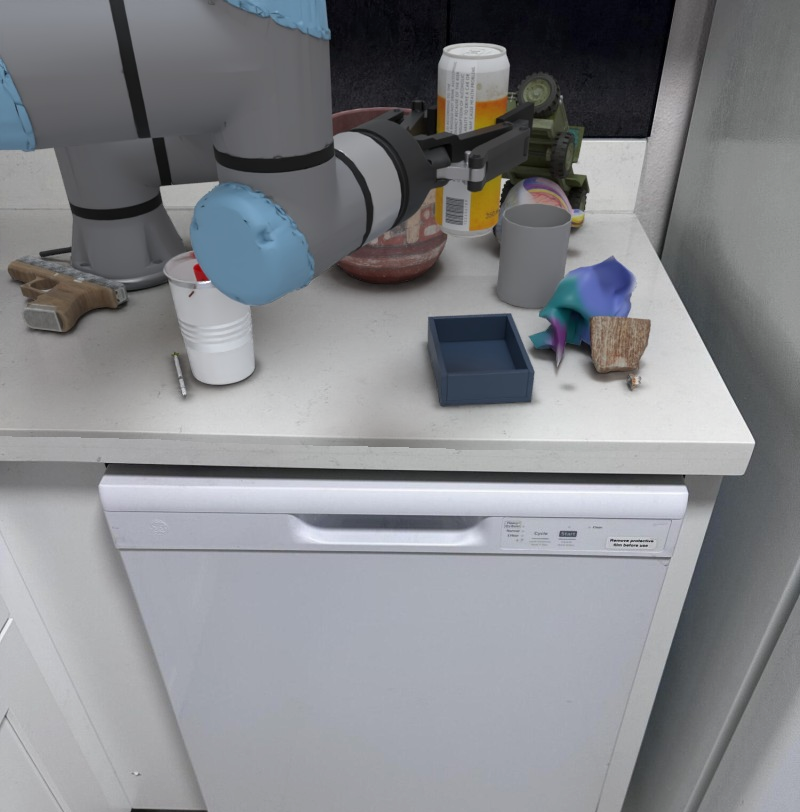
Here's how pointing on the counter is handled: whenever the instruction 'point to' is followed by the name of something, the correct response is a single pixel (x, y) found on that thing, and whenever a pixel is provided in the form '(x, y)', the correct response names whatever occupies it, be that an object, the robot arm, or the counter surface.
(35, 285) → the handgun
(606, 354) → the stone
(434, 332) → the bin
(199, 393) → the counter surface
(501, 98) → the beer can
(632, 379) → the figurine
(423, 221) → the pottery
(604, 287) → the figurine
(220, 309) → the white ridged cylinder
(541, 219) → the cup
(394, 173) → the robot arm
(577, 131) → the toy jeep
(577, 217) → the anatomical model
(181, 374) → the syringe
